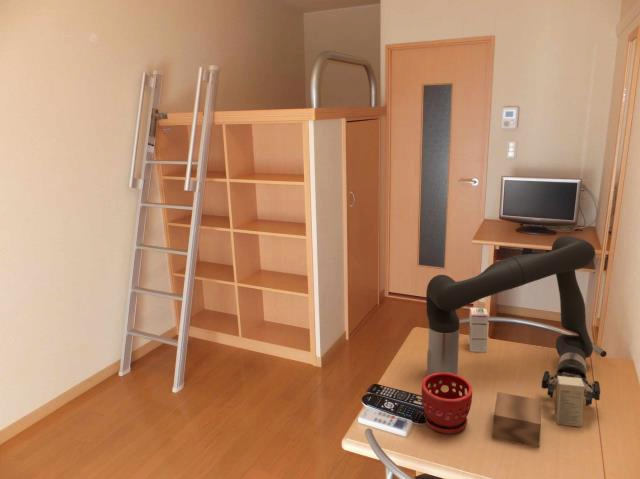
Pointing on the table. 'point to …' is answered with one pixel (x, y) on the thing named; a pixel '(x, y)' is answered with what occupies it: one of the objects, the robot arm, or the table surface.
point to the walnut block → (517, 419)
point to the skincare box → (569, 401)
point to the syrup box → (478, 329)
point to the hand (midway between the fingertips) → (569, 398)
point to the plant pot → (446, 402)
